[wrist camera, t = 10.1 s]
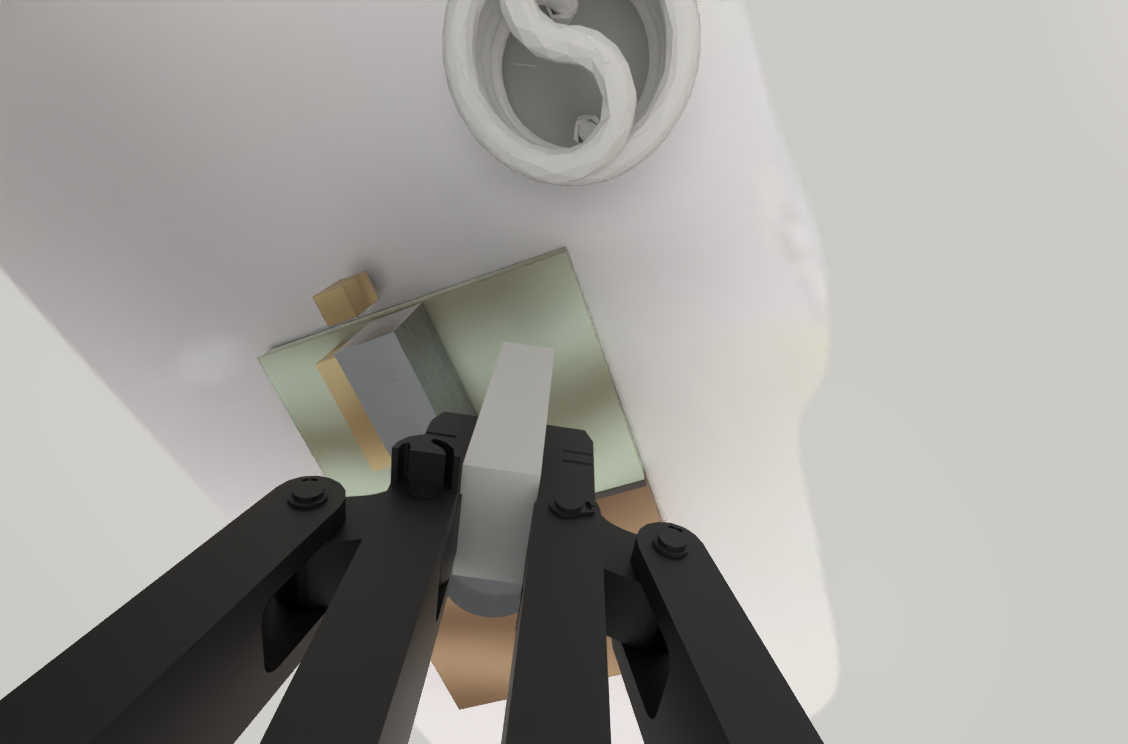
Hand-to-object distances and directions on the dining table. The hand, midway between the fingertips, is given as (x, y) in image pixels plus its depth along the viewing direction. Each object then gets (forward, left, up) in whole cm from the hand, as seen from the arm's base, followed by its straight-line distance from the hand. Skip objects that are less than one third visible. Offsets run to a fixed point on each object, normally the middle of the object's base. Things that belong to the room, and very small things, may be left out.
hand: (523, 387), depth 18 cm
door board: (+9, -5, -8) cm, 13 cm away
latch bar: (+4, -5, -7) cm, 10 cm away
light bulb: (-8, +4, -9) cm, 12 cm away
